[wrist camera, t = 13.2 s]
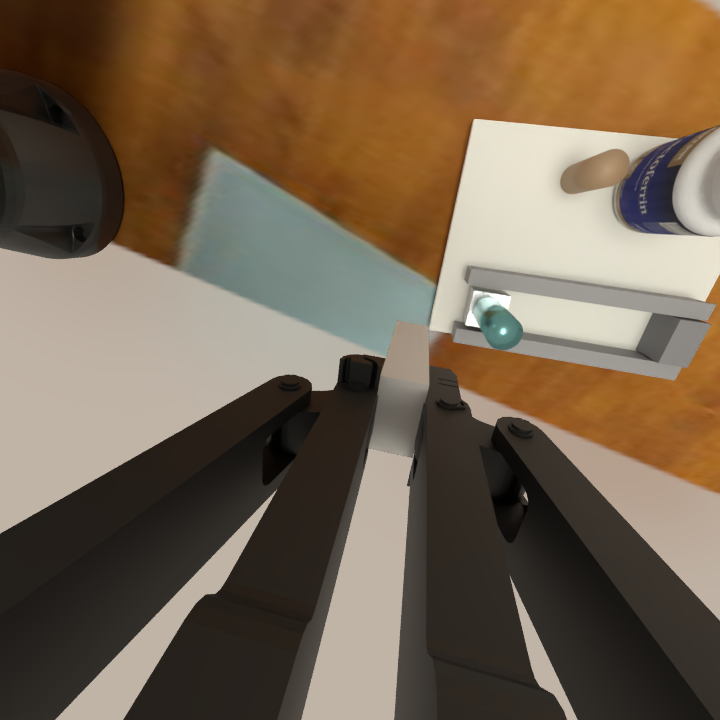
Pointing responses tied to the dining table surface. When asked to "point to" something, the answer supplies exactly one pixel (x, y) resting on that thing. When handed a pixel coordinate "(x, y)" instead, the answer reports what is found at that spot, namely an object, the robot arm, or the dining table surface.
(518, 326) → the pin
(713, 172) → the pill bottle
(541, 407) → the dining table surface
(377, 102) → the dining table surface
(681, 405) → the dining table surface
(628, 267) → the board
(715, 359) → the dining table surface
